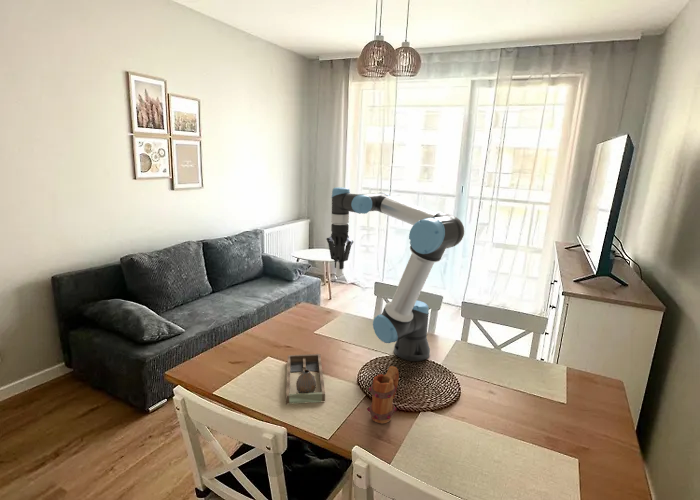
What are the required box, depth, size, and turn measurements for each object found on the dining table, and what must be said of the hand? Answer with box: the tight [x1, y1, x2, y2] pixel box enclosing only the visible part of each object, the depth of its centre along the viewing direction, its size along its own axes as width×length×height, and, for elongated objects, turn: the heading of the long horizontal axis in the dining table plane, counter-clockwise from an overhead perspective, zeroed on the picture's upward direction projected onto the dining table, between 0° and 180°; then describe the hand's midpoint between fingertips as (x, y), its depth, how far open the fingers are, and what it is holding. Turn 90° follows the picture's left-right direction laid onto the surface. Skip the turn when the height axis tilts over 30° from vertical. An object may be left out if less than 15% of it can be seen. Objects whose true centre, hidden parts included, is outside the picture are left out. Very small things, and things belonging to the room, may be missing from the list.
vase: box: [295, 370, 317, 394], centre depth 138 cm, size 7×7×9 cm
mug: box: [366, 365, 400, 424], centre depth 127 cm, size 15×8×15 cm, turn 148°
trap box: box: [285, 353, 326, 405], centre depth 147 cm, size 28×13×3 cm, turn 8°
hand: (339, 275), depth 178 cm, fingers closed
